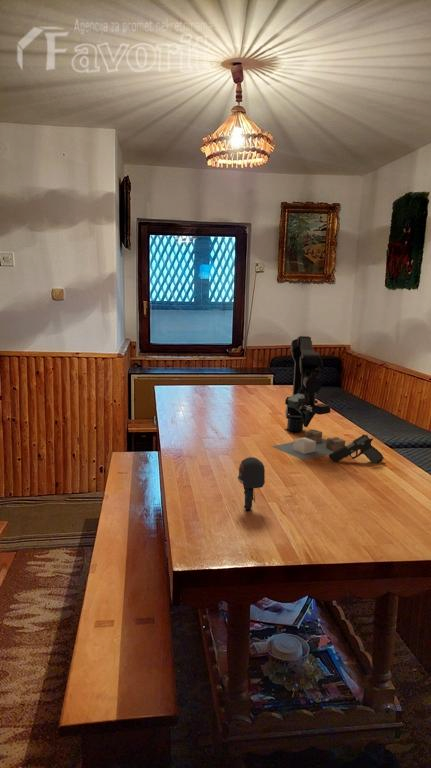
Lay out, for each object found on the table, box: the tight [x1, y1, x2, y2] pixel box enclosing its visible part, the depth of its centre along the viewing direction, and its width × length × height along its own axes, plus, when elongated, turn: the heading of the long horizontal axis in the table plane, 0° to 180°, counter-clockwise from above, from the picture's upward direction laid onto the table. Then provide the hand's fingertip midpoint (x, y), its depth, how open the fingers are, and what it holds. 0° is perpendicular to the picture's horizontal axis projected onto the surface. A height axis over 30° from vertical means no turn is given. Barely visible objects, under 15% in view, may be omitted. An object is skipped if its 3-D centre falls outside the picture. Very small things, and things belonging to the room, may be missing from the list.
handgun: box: [328, 434, 384, 464], centre depth 181 cm, size 17×2×12 cm
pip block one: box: [304, 428, 323, 443], centre depth 204 cm, size 5×5×4 cm
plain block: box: [292, 436, 316, 454], centre depth 192 cm, size 6×6×4 cm
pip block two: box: [326, 436, 346, 452], centre depth 195 cm, size 5×5×4 cm
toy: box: [237, 456, 266, 512], centre depth 139 cm, size 9×8×15 cm
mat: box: [271, 438, 333, 461], centre depth 196 cm, size 18×26×1 cm
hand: (305, 426), depth 190 cm, fingers closed
